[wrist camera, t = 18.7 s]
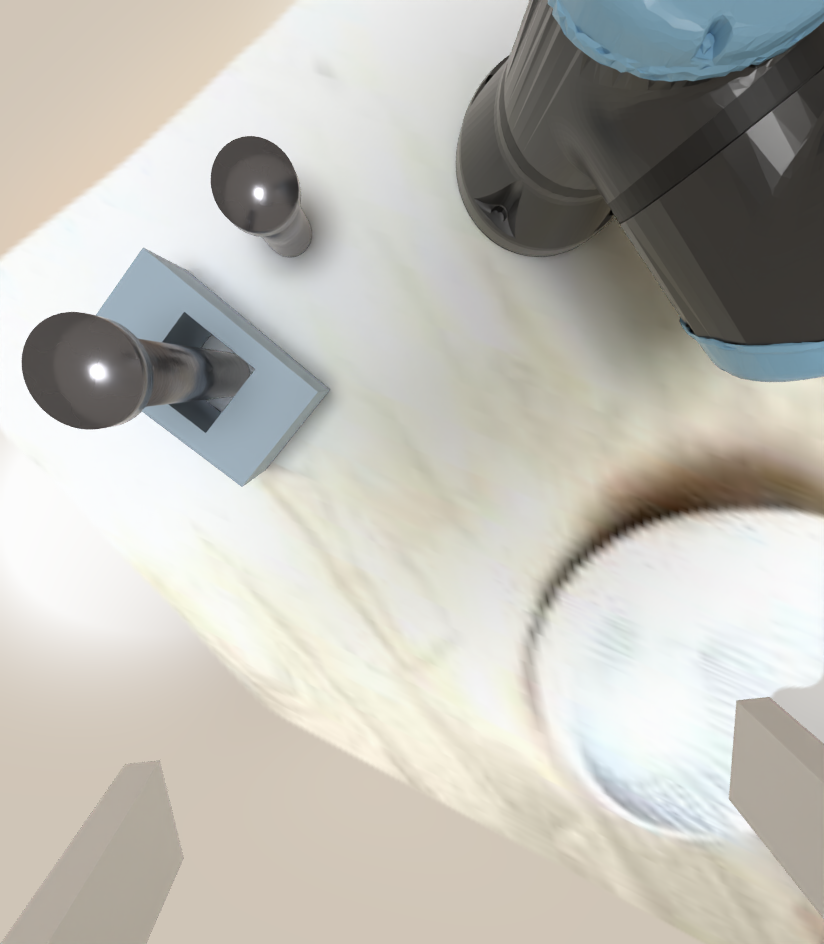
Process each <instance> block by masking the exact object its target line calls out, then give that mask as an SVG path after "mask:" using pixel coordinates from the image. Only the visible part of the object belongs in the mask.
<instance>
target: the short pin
mask: <svg viewBox="0 0 824 944" xmlns="http://www.w3.org/2000/svg"><path fill="white" fill-rule="evenodd" d="M211 188H212V193H213V196H214V199H215V201H216V203H217V205H218V207H219V209H220V210H221V211H222V213H223V214H224V215H225V216H226V217H227V218H228V219H229V220H230V221H231V222H232V223H233V224H234V225H235V226H236V227H238V228H239V229H240V230H242V231H244V232H246V233H248V234H251V235H254V236H261V237H262V238H263V239H264V240H265V241H266V242H267V244H268V245H269V246H270V247H271V248H272V249H273V250H274V251H275V252H276V253H278V254H280V255H282V256H285V257H296V256H299V255H301V254H302V253H304V252H305V251H306V250H307V248H308V247H309V245H310V242H311V238H312V230H311V226H310V223H309V221H308V219H307V217H306V215H305V214H304V212H303V210H302V208H301V206H300V202H301V188H300V183H299V179H298V176H297V174H296V172H295V170H294V168H293V165H292V163H291V162H290V160H289V158H288V157H287V156H286V154H285V153H284V152H283V151H282V150H281V149H280V148H279V147H278V146H277V145H275V144H274V143H272V142H270V141H268V140H266V139H263V138H260V137H254V136H247V137H241V138H238V139H235V140H233V141H231V142H230V143H228V144H227V145H226V146H224V147H223V148H222V150H221V151H220V152H219V153H218V155H217V157H216V159H215V161H214V163H213V167H212V172H211Z"/></svg>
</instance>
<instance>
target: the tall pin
mask: <svg viewBox="0 0 824 944" xmlns="http://www.w3.org/2000/svg"><path fill="white" fill-rule="evenodd" d="M22 371H23V376H24V380H25V383H26V385H27V388H28V390H29V392H30V394H31V395H32V397H33V398H34V400H35V401H36V402H37V404H38V405H39V406H40V407H41V408H42V409H43V410H44V411H45V412H46V413H47V414H49V415H50V416H51V417H53V418H54V419H56V420H57V421H59V422H61V423H63V424H66V425H69V426H71V427H75V428H79V429H100V428H106V427H112V426H117V425H121V424H124V423H126V422H128V421H130V420H132V419H133V418H135V417H136V416H137V415H138V414H139V413H140V412H141V411H142V410H143V409H144V408H145V407H148V406H156V405H165V404H173V403H182V402H190V401H198V400H207V399H215V398H223V397H232V396H235V395H236V393H237V392H238V391H239V389H240V388H241V387H242V386H243V384H244V383H245V382H246V380H247V379H248V378H249V377H250V370H249V367H248V365H247V364H246V362H245V361H244V360H243V359H242V358H241V357H240V356H238V355H236V354H234V353H230V352H223V351H216V350H210V349H203V348H197V347H190V346H183V345H177V344H170V343H164V342H157V341H150V340H144V339H138V338H137V337H136V336H135V335H134V334H133V333H132V332H131V331H129V330H128V329H127V328H125V327H124V326H123V325H121V324H119V323H117V322H115V321H113V320H110V319H108V318H104V317H100V316H95V315H91V314H86V313H79V312H66V313H60V314H57V315H53V316H51V317H49V318H47V319H45V320H44V321H42V322H41V323H39V324H38V325H37V326H36V327H35V328H34V329H33V331H32V332H31V333H30V335H29V337H28V338H27V340H26V343H25V345H24V349H23V353H22Z"/></svg>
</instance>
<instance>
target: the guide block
mask: <svg viewBox="0 0 824 944" xmlns="http://www.w3.org/2000/svg"><path fill="white" fill-rule="evenodd" d="M96 316H100V317H104V318H108V319H110V320H113V321H115V322H117V323H119V324H121V325H123V326H124V327H125V328H127V329H128V330H129V331H131V332H132V333H133V334H134V335H135V336H136V337H137V338H138V339H144V340H150V341H157V342H164V343H170V344H177V345H183V346H190V347H197V348H201V347H202V346H203V344H204V343H205V341H206V340H207V339H208V337H209V336H210V335H211V334H212V335H214V336H215V337H216V338H217V339H219V340H220V341H221V342H222V343H224V344H225V345H226V346H227V347H228V348H230V349H231V350H232V351H233V352H235V353H236V354H237V355H238V356H240V357H241V358H242V359H243V360H244V361H246V362H247V363H248V364H249V365H251V366H252V367H253V368H254V369H255V370H254V371H253V373H252V374H251V375H250V377H249V378H248V379H247V380H246V382H245V383H244V384H243V386H242V387H241V388H240V389H239V391H238V392H237V393H236V395H235V396H234V397H233V399H232V400H231V401H230V402H229V404H228V405H227V406H226V408H225V409H224V410H223V412H222V413H221V412H220V411H218V410H217V409H216V408H215V407H213V406H212V405H211V404H209V403H208V402H207V401H206V400H198V401H190V402H182V403H173V404H165V405H156V406H148V407H145V408H144V409H143V410H142V412H143V413H145V414H146V415H147V416H149V417H150V418H151V419H153V420H154V421H155V422H157V423H158V424H159V425H161V426H162V427H163V428H165V429H166V430H167V431H169V432H170V433H171V434H173V435H174V436H175V437H177V438H178V439H179V440H181V441H182V442H183V443H185V444H186V445H187V446H188V447H190V448H191V449H192V450H194V451H195V452H196V453H198V454H199V455H200V456H202V457H203V458H204V459H206V460H207V461H208V462H210V463H211V464H212V465H214V466H215V467H216V468H218V469H219V470H220V471H222V472H223V473H224V474H226V475H227V476H228V477H230V478H231V479H232V480H233V481H235V482H236V483H237V484H239V485H240V486H241V487H242V486H244V485H245V484H247V483H248V482H249V481H251V480H252V479H254V478H255V477H256V476H258V475H259V474H260V473H262V472H263V471H265V470H266V469H267V467H268V466H269V465H270V464H271V462H272V461H273V460H274V459H275V457H276V456H277V455H278V454H279V453H280V451H281V450H282V449H283V448H284V446H285V445H286V444H287V443H288V441H289V440H290V439H291V438H292V436H293V435H294V434H295V433H296V431H297V430H298V429H299V428H300V426H301V425H302V424H303V423H304V421H305V420H306V419H307V418H308V416H309V415H310V414H311V413H312V412H313V410H314V409H315V408H316V407H317V405H318V404H319V403H320V402H321V400H322V399H323V398H324V397H325V395H326V394H327V393H328V392H329V390H330V389H329V388H328V387H326V386H325V385H324V384H323V383H321V382H320V381H319V380H318V379H317V378H315V377H314V376H313V375H312V374H311V373H309V372H308V371H307V370H306V369H305V368H303V367H302V366H301V365H300V364H299V363H297V362H296V361H295V360H294V359H293V358H291V357H290V356H289V355H288V354H287V353H285V352H284V351H283V350H282V349H281V348H279V347H278V346H277V345H276V344H275V343H273V342H272V341H271V340H270V339H269V338H267V337H266V336H265V335H264V334H263V333H261V332H260V331H259V330H258V329H257V328H255V327H254V326H253V325H252V324H251V323H249V322H248V321H247V320H246V319H245V318H243V317H242V316H241V315H240V314H239V313H237V312H236V311H235V310H234V309H232V308H231V307H230V306H229V305H228V304H226V303H225V302H224V301H223V300H222V299H220V298H219V297H218V296H217V295H216V294H214V293H213V292H212V291H211V290H210V289H208V288H207V287H206V286H205V285H204V284H202V283H201V282H200V281H199V280H198V279H196V278H195V277H194V276H193V275H192V274H190V273H189V272H188V271H187V270H185V269H183V268H181V267H179V266H177V265H176V264H174V263H172V262H170V261H168V260H166V259H164V258H162V257H160V256H158V255H156V254H154V253H152V252H151V251H149V250H147V249H145V248H143V249H142V250H141V251H140V253H139V254H138V256H137V257H136V259H135V260H134V261H133V263H132V264H131V266H130V267H129V269H128V270H127V271H126V273H125V274H124V276H123V277H122V279H121V280H120V281H119V283H118V284H117V286H116V287H115V289H114V290H113V292H112V293H111V294H110V296H109V297H108V299H107V300H106V302H105V303H104V304H103V306H102V307H101V309H100V310H99V312H98V313H97V314H96Z"/></svg>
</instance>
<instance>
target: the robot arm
mask: <svg viewBox="0 0 824 944" xmlns="http://www.w3.org/2000/svg"><path fill="white" fill-rule="evenodd" d="M456 172H457V180H458V186H459V190H460V193H461V197H462V199H463V202H464V204H465V207H466V209H467V211H468V213H469V214H470V216H471V218H472V219H473V221H474V222H475V223H476V225H477V226H478V227H479V228H480V230H481V231H482V232H483V233H484V234H485V235H486V236H487V237H489V238H490V239H491V240H492V241H494V242H495V243H496V244H498V245H500V246H501V247H503V248H505V249H507V250H510V251H512V252H515V253H518V254H522V255H527V256H551V255H556V254H560V253H563V252H566V251H569V250H571V249H573V248H575V247H577V246H579V245H581V244H582V243H584V242H585V241H587V240H588V239H589V238H591V237H592V236H594V235H595V234H596V233H598V232H599V231H600V230H601V229H602V228H604V227H605V226H606V225H607V224H608V223H609V222H610V221H611V220H612V218H613V217H614V216H615V217H616V218H617V220H618V221H619V223H620V226H621V227H622V229H623V230H624V232H625V233H626V235H627V236H628V238H629V239H630V241H631V242H632V244H633V245H634V247H635V248H636V250H637V251H638V253H639V255H640V256H641V258H642V259H643V261H644V262H645V264H646V265H647V267H648V268H649V270H650V271H651V273H652V274H653V276H654V277H655V279H656V280H657V282H658V283H659V285H660V287H661V288H662V290H663V291H664V293H665V294H666V296H667V297H668V299H669V300H670V302H671V303H672V305H673V306H674V308H675V309H676V311H677V312H678V314H679V315H680V323H681V325H682V327H683V329H684V330H685V331H686V333H687V334H688V335H690V336H691V337H693V338H694V339H695V340H696V341H697V342H698V343H699V344H700V346H701V347H702V348H703V350H704V351H705V352H706V354H707V355H708V356H709V358H710V359H711V360H712V362H713V363H714V364H715V365H716V366H717V367H719V368H720V369H722V370H724V371H726V372H728V373H730V374H731V375H734V376H737V377H739V378H742V379H747V380H752V381H761V382H786V381H797V380H805V379H812V378H818V377H824V0H529V3H528V6H527V9H526V12H525V14H524V17H523V20H522V23H521V26H520V29H519V31H518V34H517V37H516V40H515V43H514V46H513V49H512V52H511V53H510V55H509V56H508V57H506V58H505V59H504V60H502V61H501V62H500V63H499V64H498V65H497V66H496V67H495V68H494V69H493V70H492V71H491V72H490V73H489V74H488V75H487V76H486V78H485V79H484V80H483V81H482V83H481V84H480V86H479V87H478V89H477V91H476V92H475V94H474V96H473V98H472V100H471V102H470V104H469V106H468V109H467V111H466V114H465V117H464V120H463V124H462V127H461V131H460V135H459V139H458V144H457V152H456ZM729 800H730V801H731V802H732V804H733V805H734V806H735V807H736V809H737V810H738V811H739V812H740V814H741V815H742V816H743V818H744V819H745V820H746V821H747V823H748V824H749V825H750V826H751V828H752V829H753V830H754V831H755V833H756V834H757V835H758V837H759V838H760V839H761V840H762V842H763V843H764V844H765V845H766V847H767V848H768V849H769V850H770V852H771V853H772V854H773V856H774V857H775V858H776V859H777V861H778V862H779V863H780V864H781V866H782V867H783V868H784V869H785V871H786V872H787V873H788V875H789V876H790V877H791V878H792V880H793V881H794V882H795V883H796V885H797V886H798V887H799V888H800V890H801V891H802V892H803V894H804V895H805V896H806V897H807V899H808V900H809V901H810V902H811V904H812V905H813V906H814V907H815V909H816V910H817V911H818V913H819V914H820V915H821V916H822V918H823V919H824V744H823V743H822V742H821V741H820V740H819V739H818V738H816V737H815V736H814V735H813V734H812V733H811V732H809V731H808V730H807V729H806V728H805V727H803V726H802V725H801V724H800V723H799V722H798V721H797V720H796V719H794V718H793V717H792V716H791V715H790V714H789V713H787V712H786V711H785V710H784V709H783V708H782V707H780V706H779V705H778V704H777V703H776V702H775V701H773V700H772V699H771V698H770V697H765V698H756V699H746V700H737V701H736V714H735V727H734V740H733V753H732V766H731V779H730V792H729ZM183 859H184V857H183V853H182V849H181V845H180V841H179V837H178V833H177V829H176V825H175V821H174V817H173V812H172V808H171V804H170V800H169V796H168V792H167V788H166V784H165V780H164V776H163V772H162V768H161V764H160V761H150V762H141V763H130V764H125V765H124V766H123V768H122V769H121V771H120V772H119V774H118V775H117V777H116V778H115V779H114V781H113V783H112V784H111V785H110V787H109V788H108V790H107V791H106V792H105V794H104V795H103V797H102V798H101V800H100V801H99V803H98V804H97V806H96V807H95V808H94V810H93V811H92V813H91V814H90V815H89V817H88V818H87V820H86V821H85V823H84V824H83V826H82V827H81V828H80V830H79V831H78V833H77V834H76V836H75V837H74V839H73V840H72V842H71V843H70V844H69V846H68V847H67V849H66V850H65V852H64V853H63V855H62V856H61V857H60V859H59V860H58V862H57V863H56V865H55V866H54V868H53V869H52V870H51V872H50V873H49V875H48V876H47V878H46V879H45V880H44V882H43V883H42V885H41V886H40V888H39V889H38V890H37V892H36V893H35V895H34V896H33V898H32V899H31V901H30V902H29V903H28V905H27V906H26V908H25V909H24V911H23V912H22V914H21V915H20V917H19V918H18V919H17V921H16V922H15V924H14V925H13V926H12V928H11V929H10V931H9V932H8V934H7V935H6V937H5V938H4V939H3V941H2V942H1V944H146V943H147V941H148V938H149V936H150V934H151V932H152V929H153V927H154V925H155V922H156V920H157V918H158V916H159V913H160V911H161V909H162V907H163V904H164V902H165V900H166V897H167V895H168V893H169V891H170V888H171V886H172V884H173V881H174V879H175V877H176V875H177V872H178V870H179V868H180V865H181V863H182V861H183Z"/></svg>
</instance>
